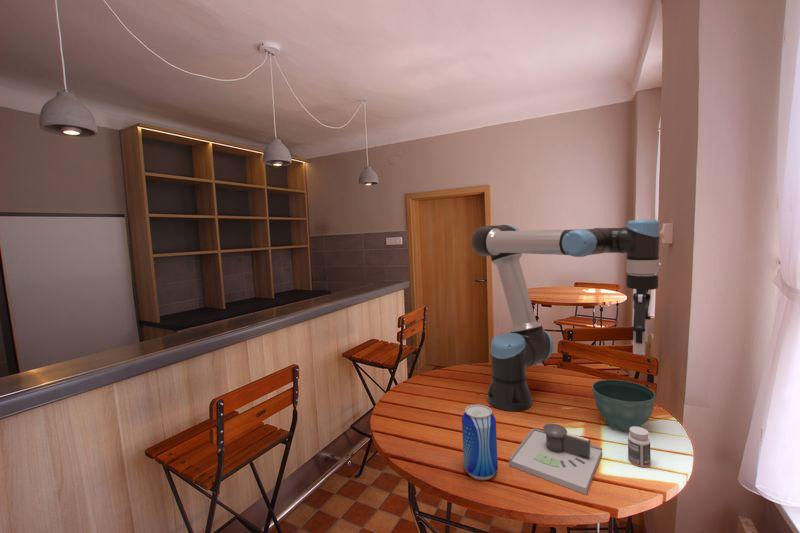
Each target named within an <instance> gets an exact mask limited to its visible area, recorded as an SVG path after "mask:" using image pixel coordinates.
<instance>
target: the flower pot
mask: <svg viewBox="0 0 800 533" xmlns="http://www.w3.org/2000/svg"><path fill="white" fill-rule="evenodd" d="M591 389H592V390H591V391H592V395H593V399H594V403H595V406H596V408H597V409H598V411H599V413H600V415H601V416H602V417H603V418H604V421H605V423H606V425H608V426H609V427H610V428H612V429H615V430H618V431H622V432H629V430H630V427H633V426H636V427H641V428H643V425H644V424H645V423H646V422H648V420H649V419H650V417H651V416H652V414H653V411H654V407H655V400H656V393H655V392H654V391H653V390H652V389H650V388H649V387H647V386H645V385H642V384H640V383H636V382H634V381H628V380H623V379H622V380H621V379H602V380H597V381H595V382H594V383H592V386H591Z"/></svg>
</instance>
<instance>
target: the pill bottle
mask: <svg viewBox="0 0 800 533" xmlns="http://www.w3.org/2000/svg"><path fill="white" fill-rule="evenodd" d="M627 449H628V450H627V452H628V454H627V458H628V461H629V462H630V463H631V464H632V465H635V466H637V467H640V468H647V467H650V466H651V462H652V460H651V440H650V438H649V431H648V430H647V429H646V428H643V427H642V428H641V427H636V426H633V427H630V430H629V434H628V436H627Z"/></svg>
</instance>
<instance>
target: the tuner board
mask: <svg viewBox="0 0 800 533" xmlns="http://www.w3.org/2000/svg"><path fill="white" fill-rule="evenodd" d="M540 453H541V454H543V455H545V456H547V457H550V458H553V459H558V460H559V468H558V467H553V466H551V464H550V465H546V464H543V463H541V462H542V461H541V462H539V461H537V460H535V459H534V457H536V456H537V455H539V454H540ZM602 456H603V448H602V447H600V446H598V445H593V444H590V456H589V457H590V458H589V459H587V458H584V457H581V456H579V454H576V453H573V452H570V451H567V450H564V451H563V452H553V451H551V450H549V449H548V448H547V447H546V434H545V433H544V429H543V430H541V429H539V428H536V427H532V428H531V431H530V432H528V434H527V435H526V436H525V438H524V439H523V440H522V442H521V443H520V444H519V445H518V447H517V448H516V449H515V450H514V452H513V453H512V454H511V455H510V456H509V457H508V466H509V467H511V468H514V469H517V470H519V471H522V472H524V473H527V474H530V475H533V476H536V477H538V478H541V479H544V480H547V481H549V482H552V483H554V484H557V485H560V486H562V487H565V488H568V489H569V490H573V491H575V492H577V493H578V492H579V493H581V494H583V495H587V493H588V491H589V489H590V486H591V484H592V481H593V478H594V476H595V474H596V471H597V468H598V466H599V465H600V464H599V463H600V461H601V458H602ZM575 458H578V459H580V460H582V461H584V462H585V464H583V463H581V462H579V461H577V460H576V459H575ZM560 460H561V461H563V462H564V464H565V466H566V467H563V466H562V464H561V462H560ZM568 460H571V461H572V462H573V463H574V464H576V465H577V467H574V466H573V465H572V464H571V463H570V462H569V461H568Z"/></svg>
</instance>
